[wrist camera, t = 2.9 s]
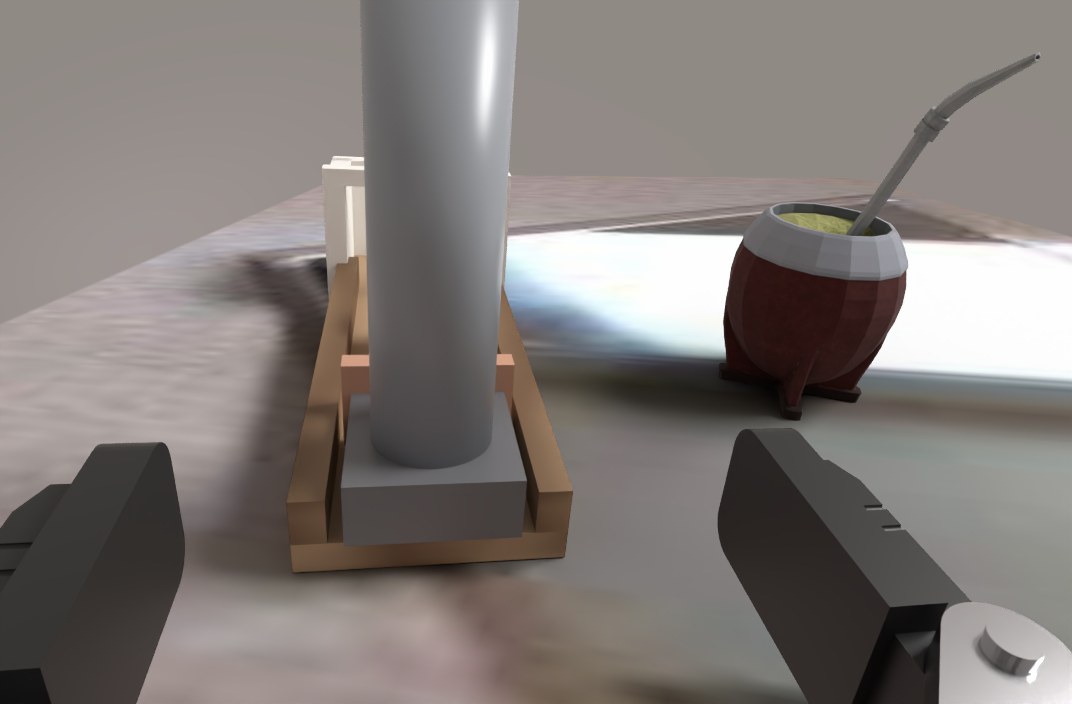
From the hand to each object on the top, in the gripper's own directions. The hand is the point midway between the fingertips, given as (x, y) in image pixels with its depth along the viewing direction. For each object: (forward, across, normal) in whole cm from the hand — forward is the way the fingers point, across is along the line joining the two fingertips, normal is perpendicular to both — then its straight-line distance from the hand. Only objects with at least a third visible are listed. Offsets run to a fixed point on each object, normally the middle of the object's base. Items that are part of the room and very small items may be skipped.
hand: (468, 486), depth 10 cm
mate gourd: (+18, -17, +9) cm, 27 cm away
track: (+21, 0, +9) cm, 23 cm away
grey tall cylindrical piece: (+11, 0, +8) cm, 13 cm away
